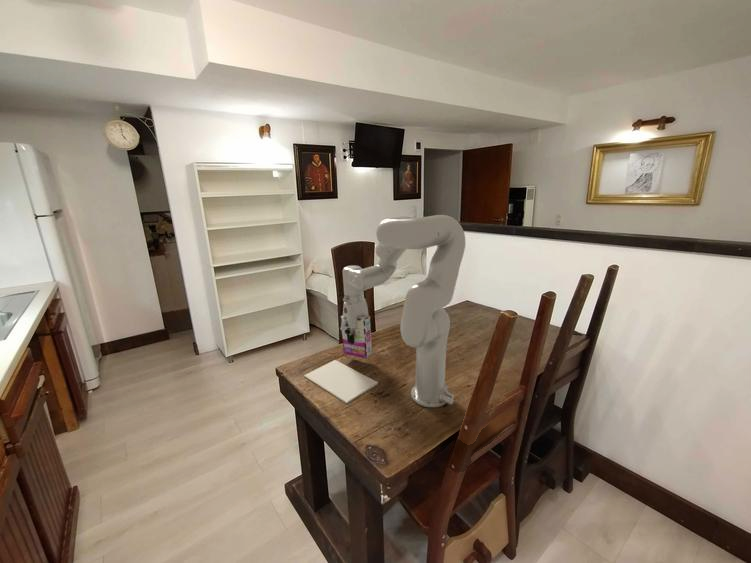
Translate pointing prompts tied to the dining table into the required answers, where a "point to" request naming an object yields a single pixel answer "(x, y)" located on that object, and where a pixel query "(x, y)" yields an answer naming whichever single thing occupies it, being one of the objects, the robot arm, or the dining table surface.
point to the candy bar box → (359, 339)
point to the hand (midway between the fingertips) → (356, 339)
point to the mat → (341, 381)
